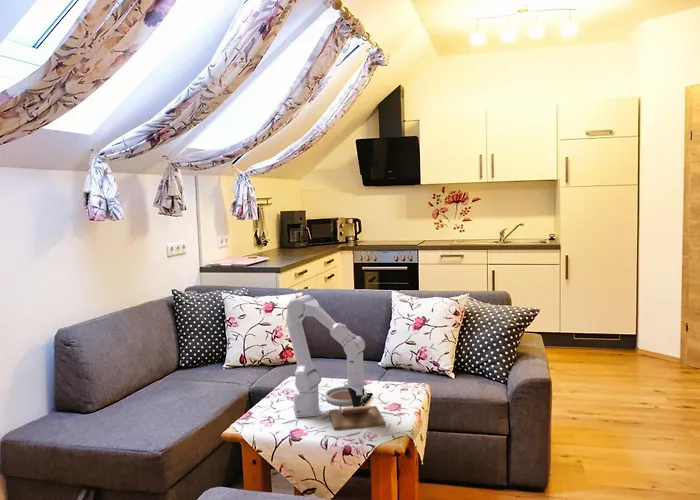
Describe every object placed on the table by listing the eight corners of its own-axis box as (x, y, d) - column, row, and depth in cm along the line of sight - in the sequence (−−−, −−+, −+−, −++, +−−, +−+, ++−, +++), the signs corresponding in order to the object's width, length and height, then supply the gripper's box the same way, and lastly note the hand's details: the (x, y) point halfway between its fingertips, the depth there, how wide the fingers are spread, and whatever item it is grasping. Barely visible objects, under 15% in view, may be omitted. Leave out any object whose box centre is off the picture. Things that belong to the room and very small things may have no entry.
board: (334, 430, 212) (334, 426, 211) (328, 413, 227) (328, 410, 227) (385, 425, 214) (385, 422, 214) (376, 409, 230) (376, 405, 230)
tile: (340, 411, 223) (341, 414, 223) (343, 408, 216) (343, 410, 215) (367, 409, 225) (368, 411, 225) (371, 405, 217) (371, 407, 217)
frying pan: (377, 379, 259) (361, 401, 232) (377, 386, 259) (361, 408, 232) (338, 377, 263) (319, 398, 236) (339, 383, 263) (319, 405, 237)
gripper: (370, 376, 211) (371, 414, 213) (362, 364, 225) (363, 400, 227) (350, 378, 210) (351, 416, 211) (343, 365, 224) (344, 401, 226)
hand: (356, 408), depth 219 cm, fingers closed, pressing on tile
